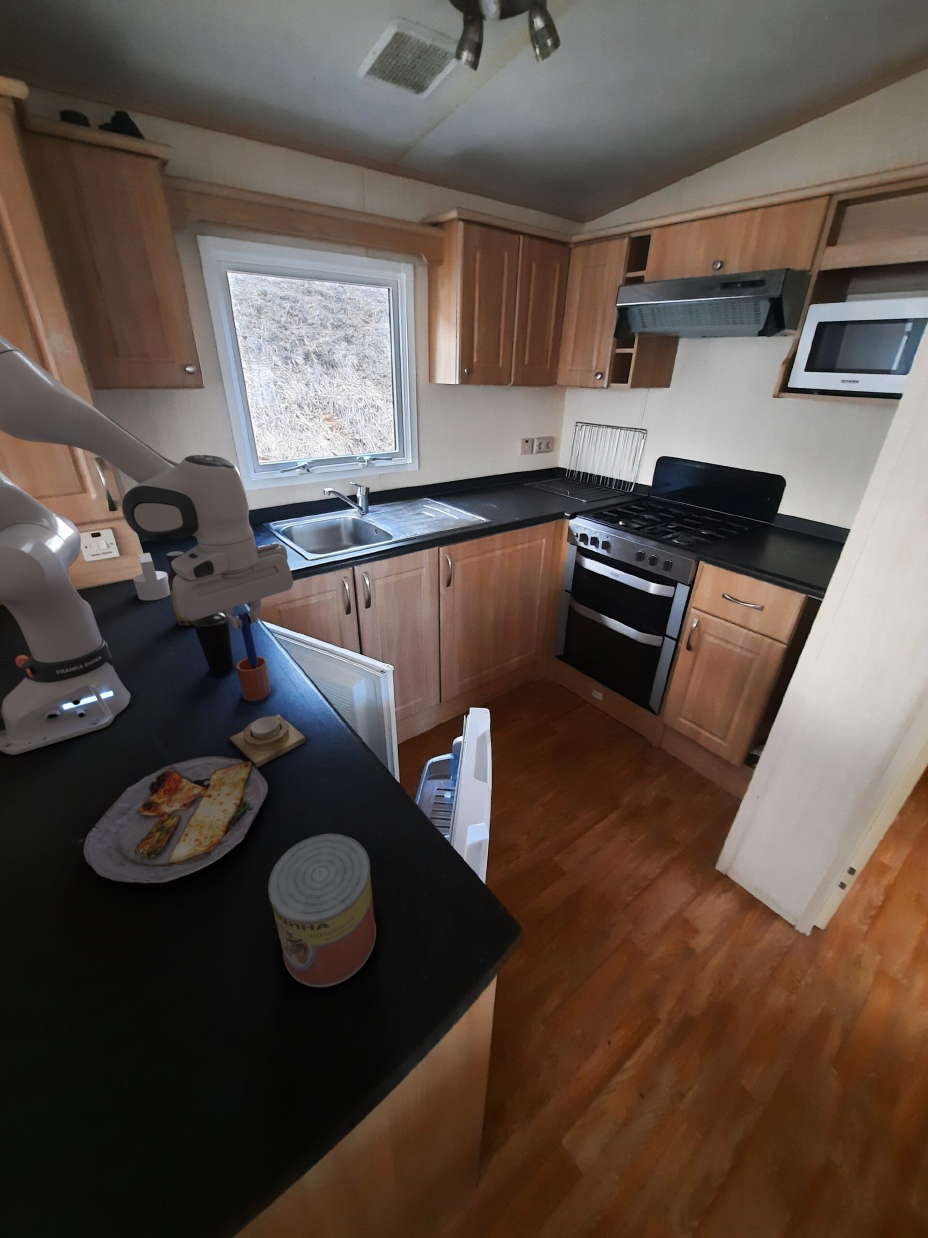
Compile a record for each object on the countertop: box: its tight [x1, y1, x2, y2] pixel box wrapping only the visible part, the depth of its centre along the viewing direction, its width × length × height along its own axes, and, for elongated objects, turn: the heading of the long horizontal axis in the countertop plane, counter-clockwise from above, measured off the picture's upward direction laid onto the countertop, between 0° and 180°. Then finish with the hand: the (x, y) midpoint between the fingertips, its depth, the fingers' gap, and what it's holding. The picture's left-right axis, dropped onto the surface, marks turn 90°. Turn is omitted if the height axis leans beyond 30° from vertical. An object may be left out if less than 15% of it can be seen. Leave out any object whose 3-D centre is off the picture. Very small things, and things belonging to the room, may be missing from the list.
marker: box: [237, 610, 258, 669], centre depth 95 cm, size 2×2×12 cm
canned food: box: [267, 833, 377, 988], centre depth 61 cm, size 11×11×12 cm
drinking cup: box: [191, 612, 234, 676], centre depth 114 cm, size 8×8×20 cm
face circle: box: [251, 716, 280, 740], centre depth 95 cm, size 5×5×2 cm
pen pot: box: [236, 656, 272, 702], centre depth 108 cm, size 6×6×8 cm
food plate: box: [83, 755, 269, 884], centre depth 79 cm, size 25×23×4 cm
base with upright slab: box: [132, 552, 171, 601], centre depth 154 cm, size 9×9×12 cm
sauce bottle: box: [165, 550, 193, 627], centre depth 136 cm, size 7×6×20 cm
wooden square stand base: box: [229, 714, 307, 769], centre depth 95 cm, size 10×10×3 cm
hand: (245, 625), depth 93 cm, fingers closed on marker, 1 cm apart
